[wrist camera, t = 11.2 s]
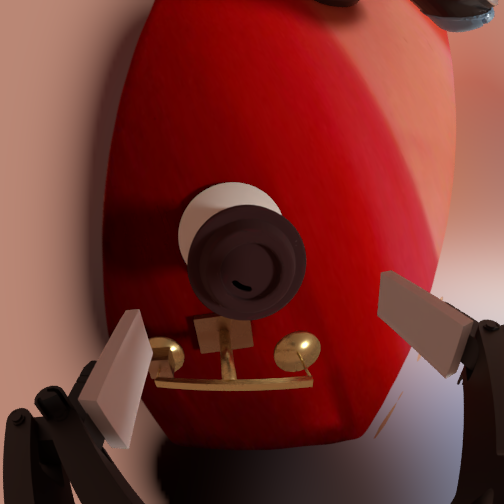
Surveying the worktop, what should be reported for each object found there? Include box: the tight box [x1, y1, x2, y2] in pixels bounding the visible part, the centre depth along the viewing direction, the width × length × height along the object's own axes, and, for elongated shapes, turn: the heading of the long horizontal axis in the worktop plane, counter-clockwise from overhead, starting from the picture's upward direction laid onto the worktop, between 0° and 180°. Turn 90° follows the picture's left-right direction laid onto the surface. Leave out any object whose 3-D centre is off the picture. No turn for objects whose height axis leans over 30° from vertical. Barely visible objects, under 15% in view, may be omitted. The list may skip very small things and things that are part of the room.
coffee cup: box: [187, 204, 306, 321], centre depth 28 cm, size 10×10×15 cm
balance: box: [148, 313, 320, 391], centre depth 32 cm, size 6×24×15 cm, turn 96°
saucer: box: [178, 182, 282, 264], centre depth 36 cm, size 14×14×1 cm
